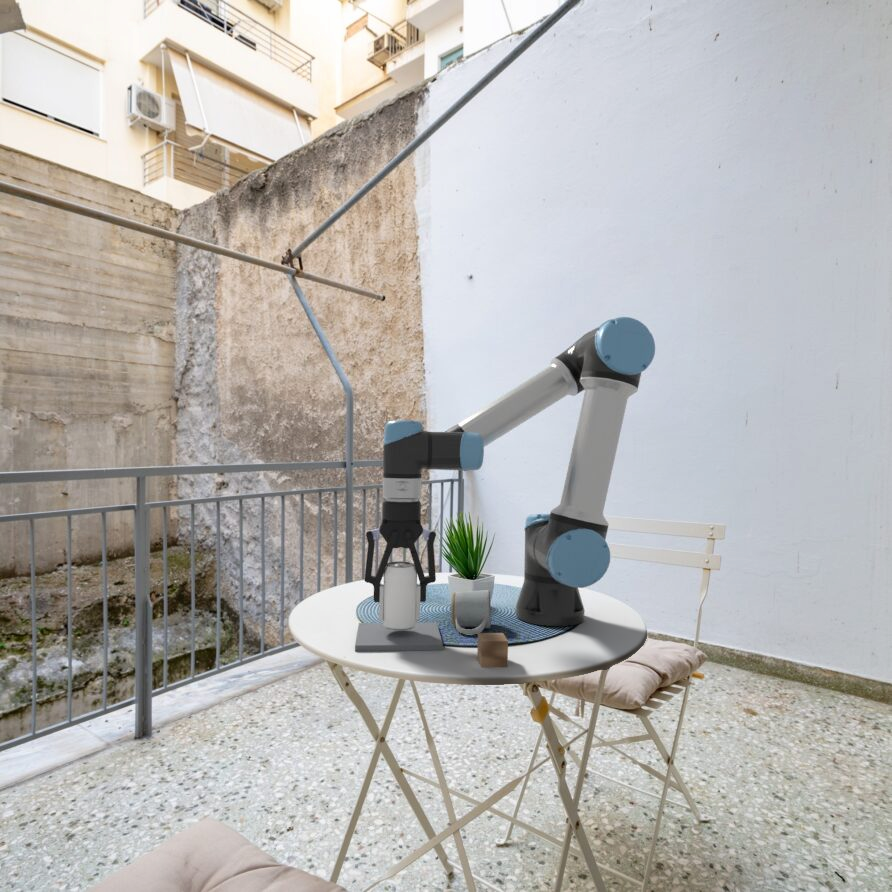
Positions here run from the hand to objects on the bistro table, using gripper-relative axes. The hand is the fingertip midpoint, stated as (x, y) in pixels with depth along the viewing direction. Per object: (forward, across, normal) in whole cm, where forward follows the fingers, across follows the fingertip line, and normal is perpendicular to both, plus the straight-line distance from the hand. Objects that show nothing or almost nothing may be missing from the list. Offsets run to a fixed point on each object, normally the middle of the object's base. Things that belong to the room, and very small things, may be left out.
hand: (399, 618), depth 114 cm
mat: (+4, 0, 0) cm, 4 cm away
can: (+2, 0, 0) cm, 2 cm away
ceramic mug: (+4, +15, +6) cm, 17 cm away
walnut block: (+4, +16, -14) cm, 21 cm away
